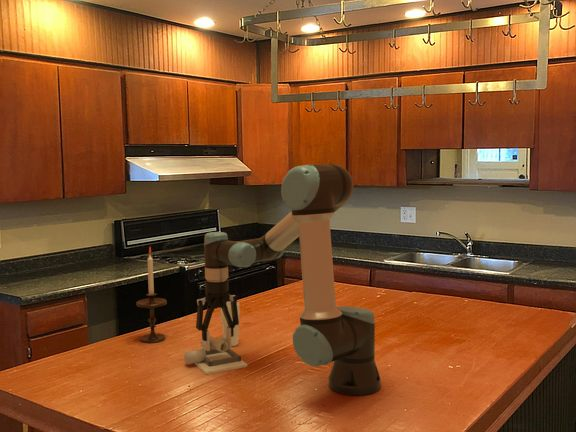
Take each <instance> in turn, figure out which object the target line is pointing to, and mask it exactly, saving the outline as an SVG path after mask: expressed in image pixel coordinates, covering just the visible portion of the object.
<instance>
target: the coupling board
mask: <svg viewBox="0 0 576 432" xmlns="http://www.w3.org/2000/svg"><path fill="white" fill-rule="evenodd" d="M200 346H201V347H202V348H201V349H199V348H198V349H195V350H188V351H184V354H183V355H184V361H185V364H186V365H191V364H192V365H193V364H194V365H195V366H196V367H197V368H199V370H200V371H202V373H204V374H205V375H211V374H217V373H223V372H226V371H232V370H238V369H242V368H248V363H246V362H245V361H243V359H242V356H241V355H239V354H238V353H237V352H236V351H234V350H233V349H232V348H229V347H228V349H227V350H226V351H225V352H224V353H222V352H220V351H218V350H215V349H213V348H210V351H207V350H206V349H205V341H203V340H202V339H201V340H200Z"/></svg>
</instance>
